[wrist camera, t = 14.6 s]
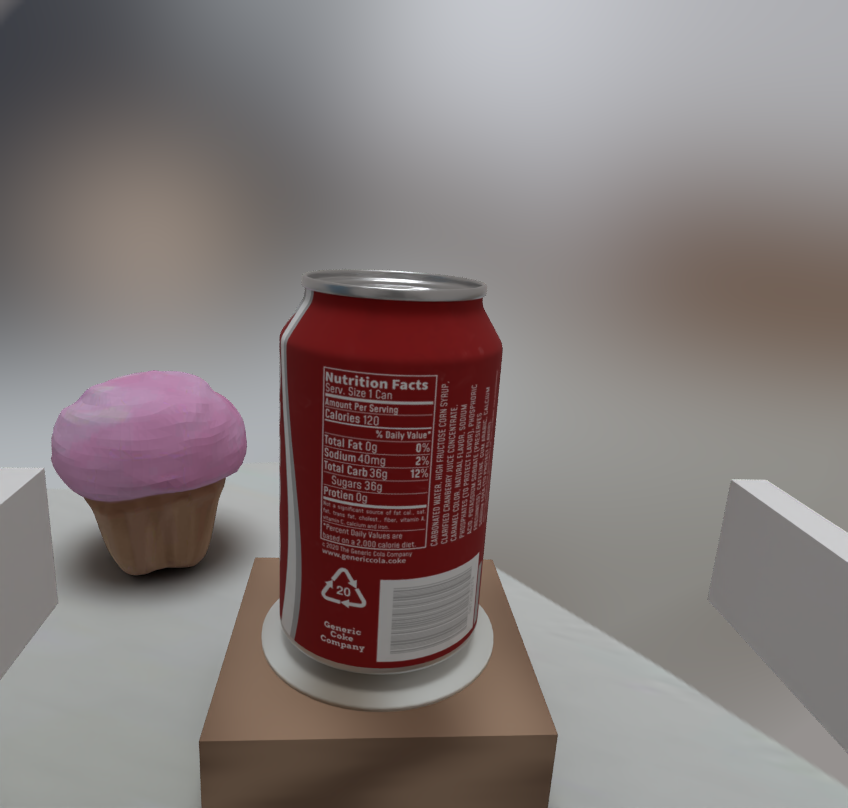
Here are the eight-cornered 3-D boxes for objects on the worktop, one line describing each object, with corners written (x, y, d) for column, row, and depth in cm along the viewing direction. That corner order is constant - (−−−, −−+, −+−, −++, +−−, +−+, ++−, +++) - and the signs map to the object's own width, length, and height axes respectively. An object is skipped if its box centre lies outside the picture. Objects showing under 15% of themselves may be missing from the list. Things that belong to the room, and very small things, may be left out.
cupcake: (227, 512, 41) (223, 350, 38) (266, 582, 33) (265, 388, 31) (61, 537, 36) (43, 358, 34) (64, 624, 29) (42, 404, 26)
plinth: (203, 855, 19) (198, 735, 18) (256, 640, 29) (255, 553, 28) (542, 843, 20) (558, 728, 19) (484, 639, 30) (492, 555, 29)
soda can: (510, 670, 21) (552, 295, 18) (300, 714, 19) (304, 290, 16) (433, 566, 27) (454, 270, 24) (266, 589, 25) (264, 264, 22)
